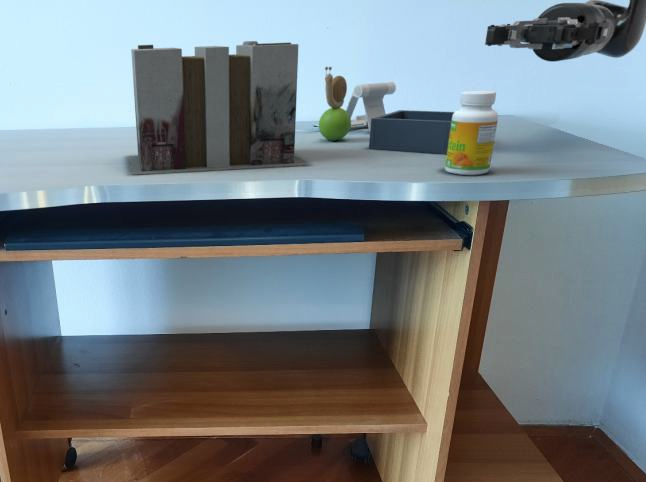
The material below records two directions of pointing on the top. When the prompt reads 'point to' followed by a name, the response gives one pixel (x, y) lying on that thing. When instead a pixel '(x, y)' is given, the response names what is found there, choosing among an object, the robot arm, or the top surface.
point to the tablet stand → (369, 102)
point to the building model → (215, 108)
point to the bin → (411, 131)
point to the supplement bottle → (472, 134)
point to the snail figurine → (335, 109)
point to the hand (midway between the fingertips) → (524, 35)
